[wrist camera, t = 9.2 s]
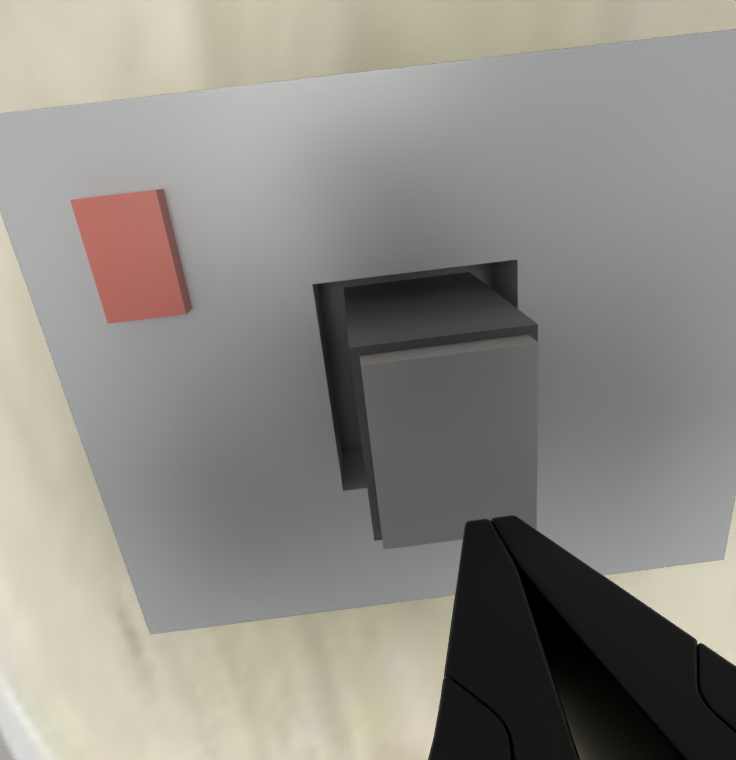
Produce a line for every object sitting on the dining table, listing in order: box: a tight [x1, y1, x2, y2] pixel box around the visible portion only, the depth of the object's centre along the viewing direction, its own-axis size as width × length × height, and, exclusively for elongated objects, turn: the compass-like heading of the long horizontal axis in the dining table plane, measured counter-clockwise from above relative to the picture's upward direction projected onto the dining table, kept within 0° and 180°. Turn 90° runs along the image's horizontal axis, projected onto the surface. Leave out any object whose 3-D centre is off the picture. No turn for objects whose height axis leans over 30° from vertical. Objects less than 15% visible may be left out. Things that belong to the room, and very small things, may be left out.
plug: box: [344, 272, 539, 550], centre depth 15 cm, size 4×5×7 cm
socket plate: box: [0, 29, 736, 634], centre depth 16 cm, size 20×16×4 cm
